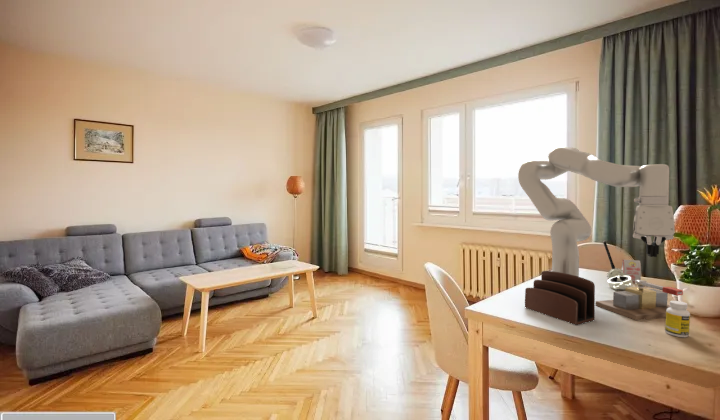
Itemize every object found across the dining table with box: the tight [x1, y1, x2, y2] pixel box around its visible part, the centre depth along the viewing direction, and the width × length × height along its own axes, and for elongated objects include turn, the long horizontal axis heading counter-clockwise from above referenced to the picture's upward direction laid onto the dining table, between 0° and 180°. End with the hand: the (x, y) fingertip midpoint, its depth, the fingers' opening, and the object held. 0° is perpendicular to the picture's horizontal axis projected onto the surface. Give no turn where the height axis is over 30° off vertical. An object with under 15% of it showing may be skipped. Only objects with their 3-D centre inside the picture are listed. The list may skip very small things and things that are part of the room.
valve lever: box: [634, 279, 684, 297], centre depth 124 cm, size 15×3×2 cm, turn 12°
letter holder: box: [524, 270, 596, 326], centre depth 126 cm, size 10×20×14 cm, turn 26°
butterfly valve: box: [602, 240, 634, 291], centre depth 160 cm, size 9×20×17 cm
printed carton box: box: [621, 259, 642, 283], centre depth 170 cm, size 4×7×10 cm, turn 64°
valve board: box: [595, 299, 671, 321], centre depth 130 cm, size 22×16×2 cm
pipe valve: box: [612, 285, 669, 310], centre depth 129 cm, size 18×6×8 cm, turn 102°
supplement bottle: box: [664, 300, 691, 338], centre depth 108 cm, size 5×5×10 cm
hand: (652, 256), depth 120 cm, fingers closed
